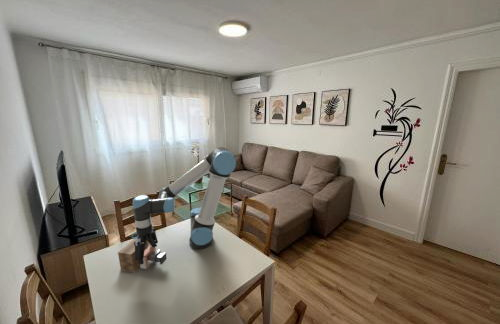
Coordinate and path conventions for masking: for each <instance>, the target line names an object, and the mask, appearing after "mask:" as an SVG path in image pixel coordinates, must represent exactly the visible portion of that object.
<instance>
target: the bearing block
mask: <svg viewBox="0 0 500 324" xmlns="http://www.w3.org/2000/svg"><path fill="white" fill-rule="evenodd" d="M137 240H138V239H132V240H131V241H130V242H129V243H128V244H126V245H125V246H124V247H122V248H121V249H120V250H119V251H118V252H117V255H118V261H119V267H120V271H122V272H123V271H124V272H129V273H130V272H131V273H136V271H137V270H138V269H139V268H141V266H140V264H139V260H135V245H134V242H135V241H136V242H137ZM142 243H143V242H142ZM148 244H149V242H148V243H146V245H145V250H146V249H147V248H148V247H149V245H148Z"/></svg>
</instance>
